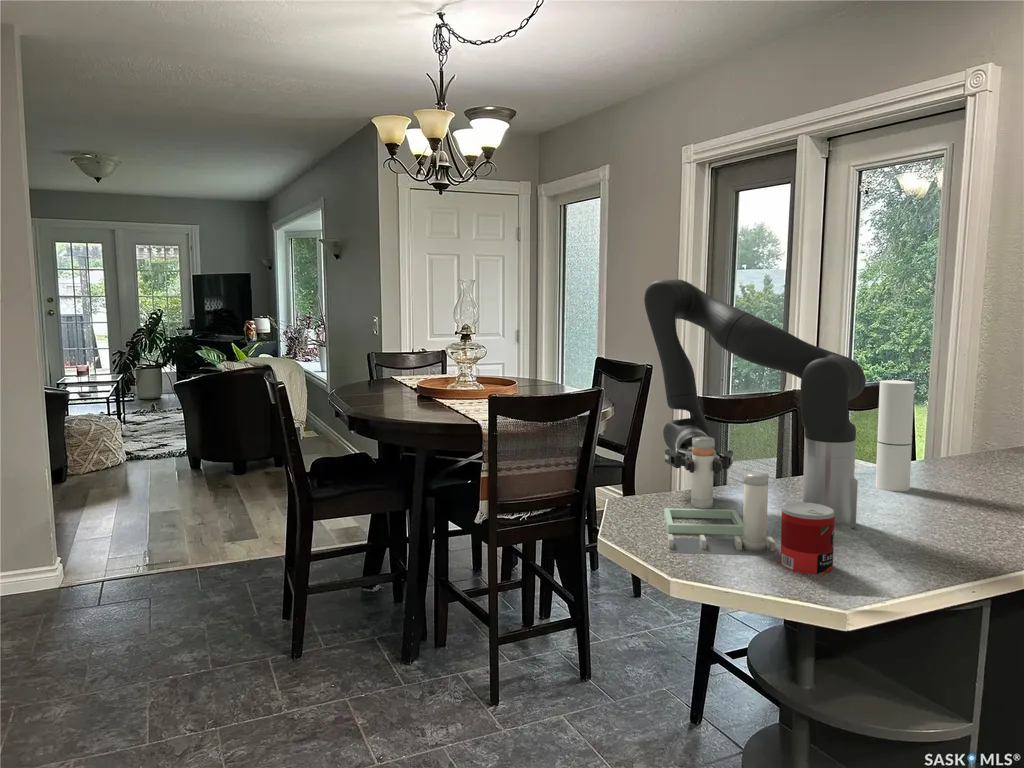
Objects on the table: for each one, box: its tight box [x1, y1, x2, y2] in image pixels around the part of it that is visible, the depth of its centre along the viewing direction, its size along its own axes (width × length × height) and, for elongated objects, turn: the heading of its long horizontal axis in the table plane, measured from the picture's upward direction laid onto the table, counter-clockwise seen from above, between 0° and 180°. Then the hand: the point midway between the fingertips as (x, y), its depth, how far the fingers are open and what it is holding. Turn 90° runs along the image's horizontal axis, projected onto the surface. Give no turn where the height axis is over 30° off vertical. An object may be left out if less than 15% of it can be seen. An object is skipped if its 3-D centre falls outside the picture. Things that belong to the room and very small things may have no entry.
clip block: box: [666, 533, 779, 557], centre depth 129 cm, size 18×8×3 cm, turn 82°
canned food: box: [780, 501, 835, 575], centre depth 119 cm, size 8×8×11 cm
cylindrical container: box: [875, 379, 915, 492], centre depth 171 cm, size 7×7×25 cm
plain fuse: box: [741, 471, 770, 551], centre depth 127 cm, size 4×4×13 cm
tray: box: [663, 507, 743, 536], centre depth 141 cm, size 14×11×3 cm
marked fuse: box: [690, 437, 715, 509], centre depth 140 cm, size 4×4×13 cm
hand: (704, 467), depth 138 cm, fingers closed on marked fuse, 4 cm apart
